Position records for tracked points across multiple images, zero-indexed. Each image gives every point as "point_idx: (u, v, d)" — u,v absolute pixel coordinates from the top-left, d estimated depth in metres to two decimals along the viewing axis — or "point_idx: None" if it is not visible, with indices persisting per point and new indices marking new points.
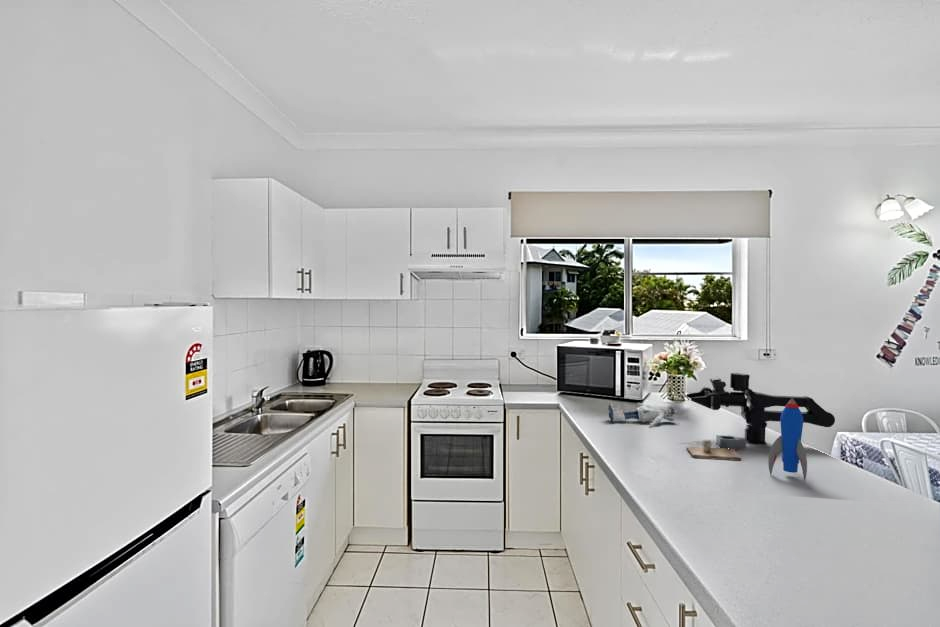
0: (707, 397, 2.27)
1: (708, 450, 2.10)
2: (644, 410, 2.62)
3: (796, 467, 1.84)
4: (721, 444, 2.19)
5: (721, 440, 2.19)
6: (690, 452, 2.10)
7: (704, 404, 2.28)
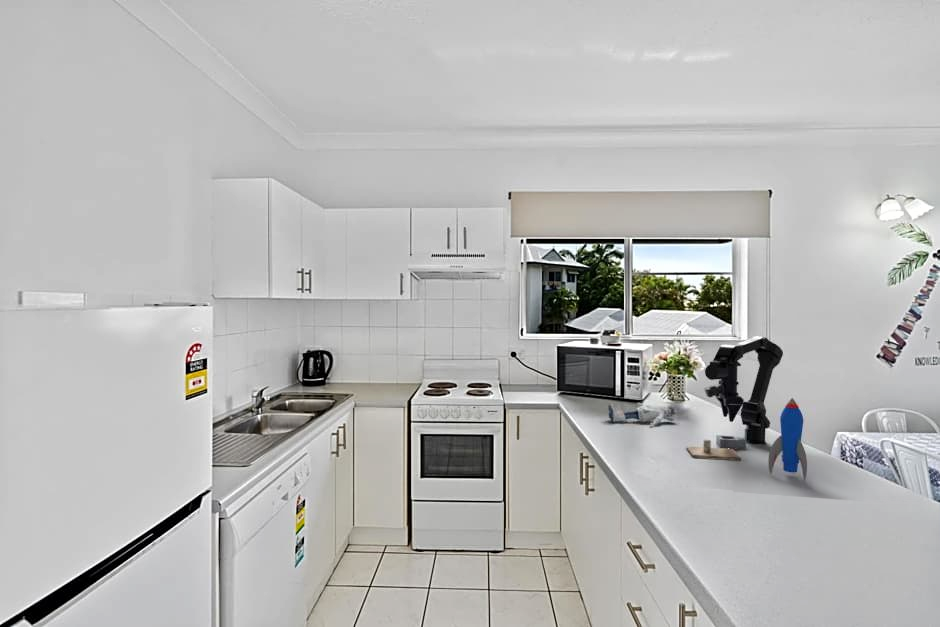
0: (729, 407, 2.15)
1: (708, 450, 2.10)
2: (644, 410, 2.62)
3: (796, 467, 1.84)
4: (721, 444, 2.19)
5: (721, 440, 2.19)
6: (690, 452, 2.10)
7: (737, 409, 2.15)
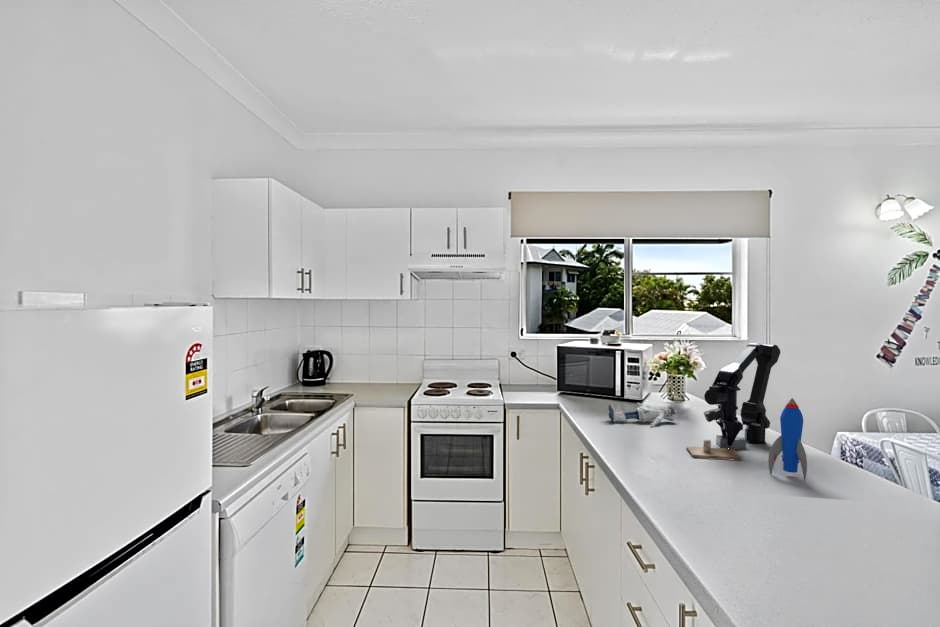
0: (727, 431, 2.17)
1: (708, 450, 2.10)
2: (644, 410, 2.62)
3: (796, 467, 1.84)
4: (721, 444, 2.19)
5: (721, 440, 2.19)
6: (690, 452, 2.10)
7: (735, 434, 2.16)
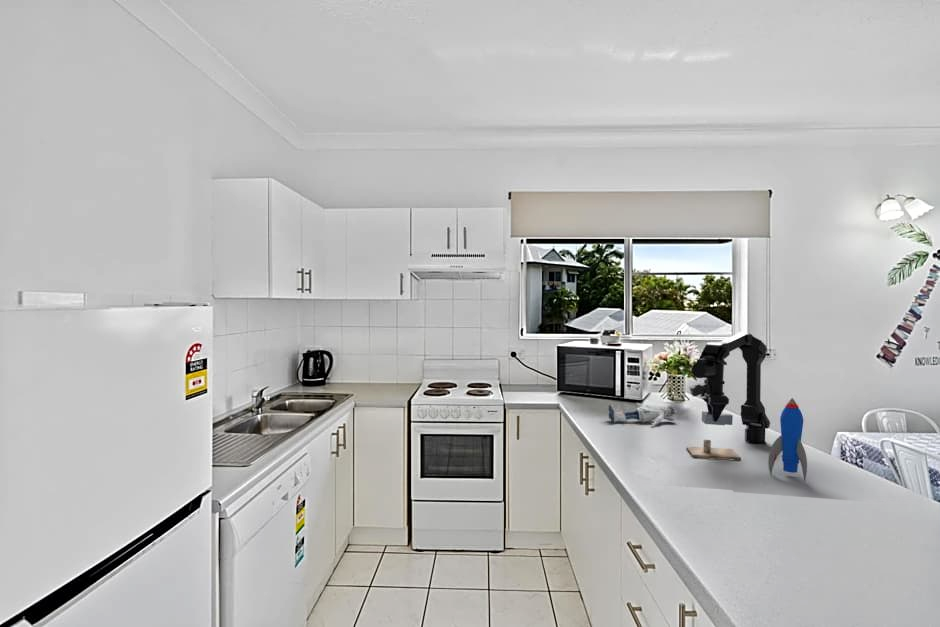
0: (713, 406, 2.09)
1: (708, 450, 2.10)
2: (644, 410, 2.62)
3: (796, 467, 1.84)
4: (706, 419, 2.11)
5: (706, 415, 2.11)
6: (690, 452, 2.10)
7: (721, 409, 2.08)
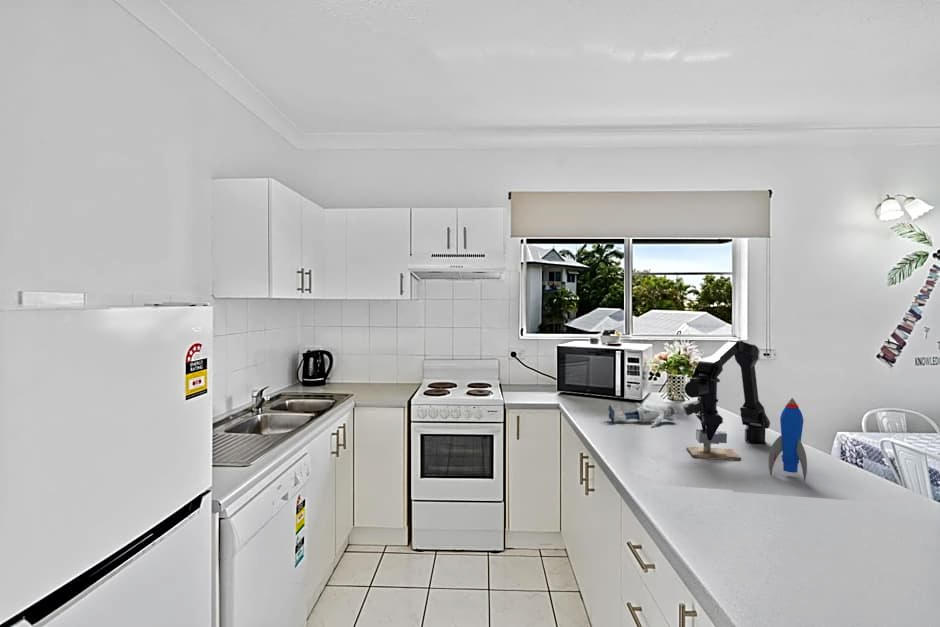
0: (707, 425, 2.06)
1: (708, 450, 2.10)
2: (645, 410, 2.62)
3: (796, 467, 1.84)
4: (700, 438, 2.08)
5: (700, 434, 2.08)
6: (690, 452, 2.10)
7: (715, 428, 2.05)
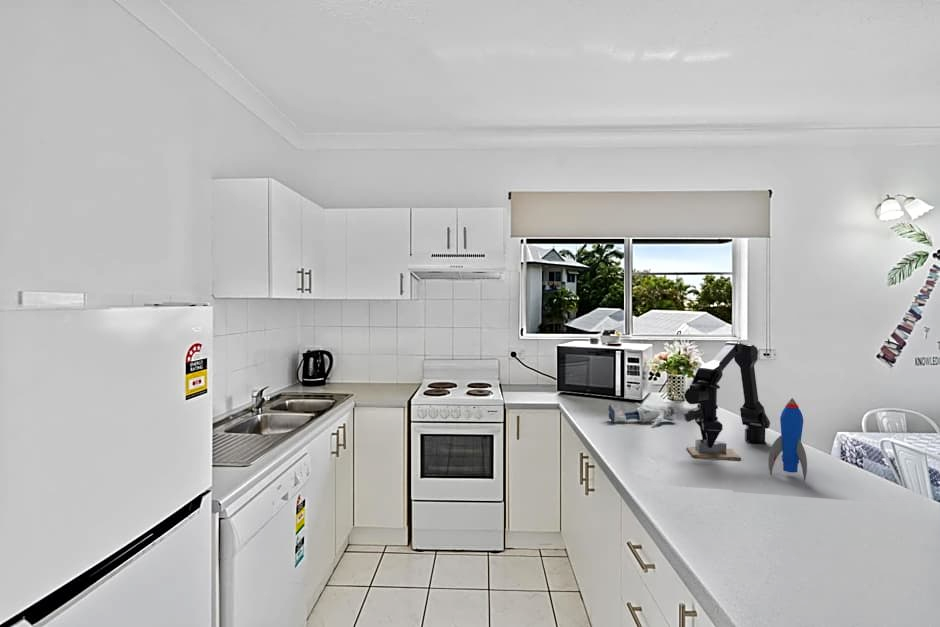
0: (707, 432, 2.05)
1: None
2: (645, 410, 2.62)
3: (796, 467, 1.84)
4: (700, 448, 2.08)
5: (700, 444, 2.08)
6: (690, 452, 2.10)
7: (715, 435, 2.04)
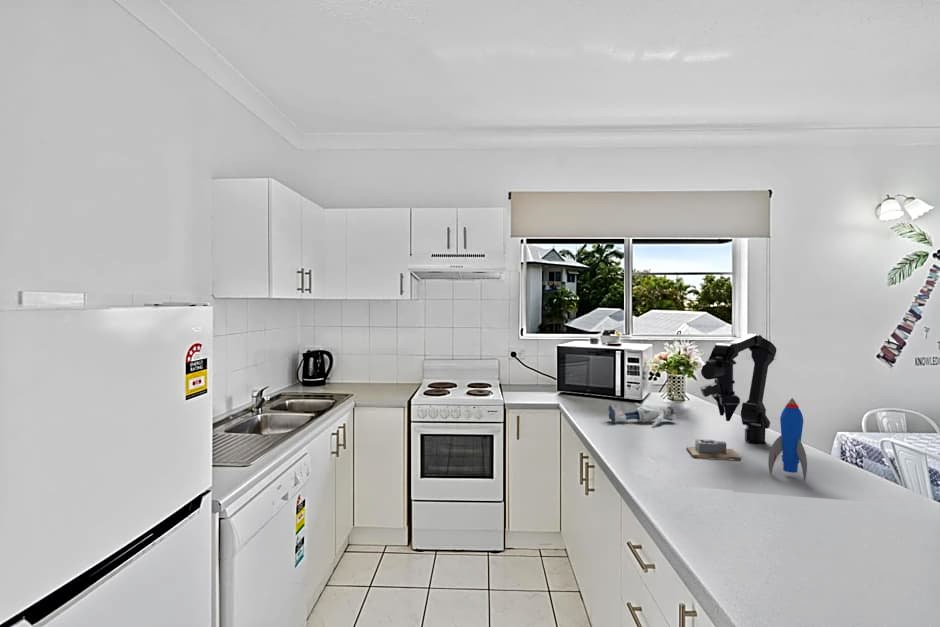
0: (725, 406, 2.13)
1: None
2: (645, 410, 2.62)
3: (796, 467, 1.84)
4: (700, 448, 2.08)
5: (700, 444, 2.08)
6: (690, 452, 2.10)
7: (733, 409, 2.13)
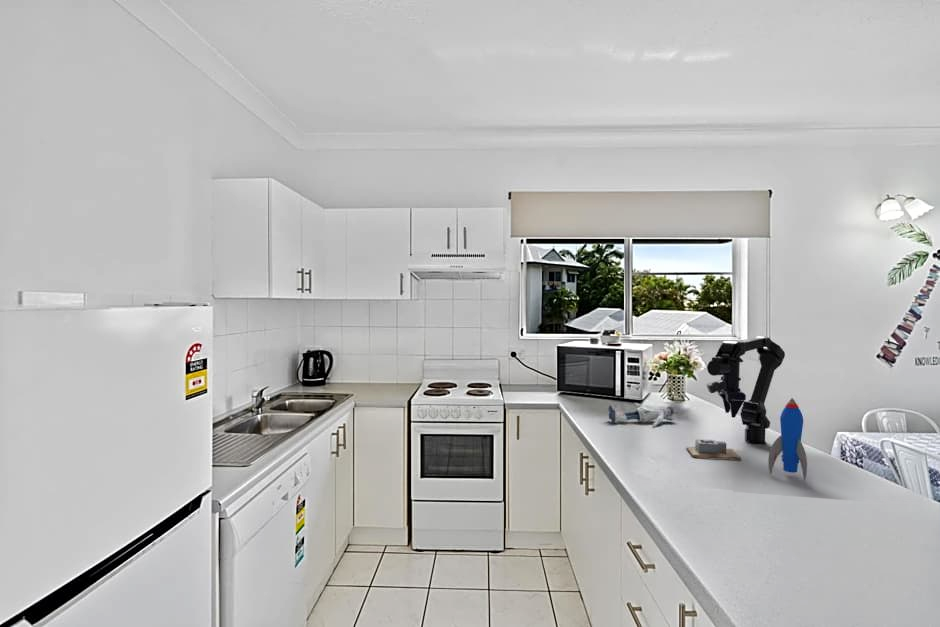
0: (731, 402, 2.16)
1: None
2: (645, 410, 2.62)
3: (796, 467, 1.84)
4: (700, 448, 2.08)
5: (700, 444, 2.08)
6: (690, 452, 2.10)
7: (739, 405, 2.16)
